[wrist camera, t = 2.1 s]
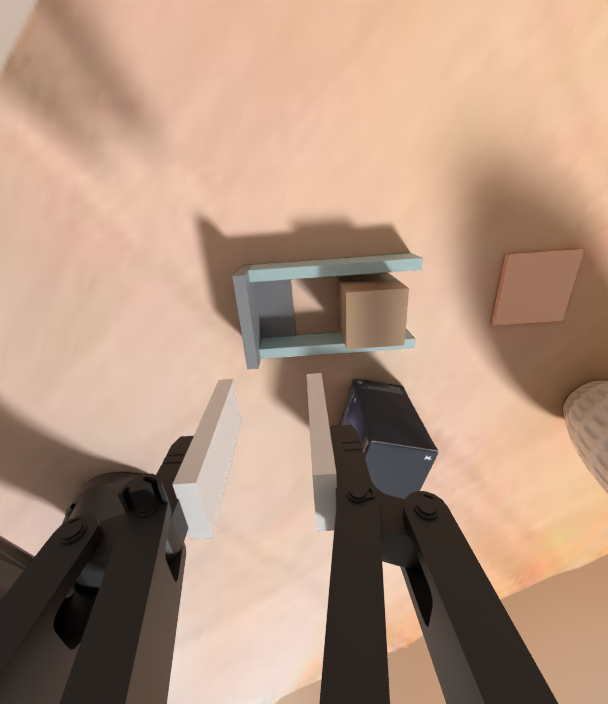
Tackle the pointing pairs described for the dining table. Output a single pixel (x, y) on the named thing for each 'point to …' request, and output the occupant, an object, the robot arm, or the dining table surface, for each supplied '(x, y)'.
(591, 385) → the vase
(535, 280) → the tile
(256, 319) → the channel
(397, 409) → the small box
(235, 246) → the dining table surface
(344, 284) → the block
